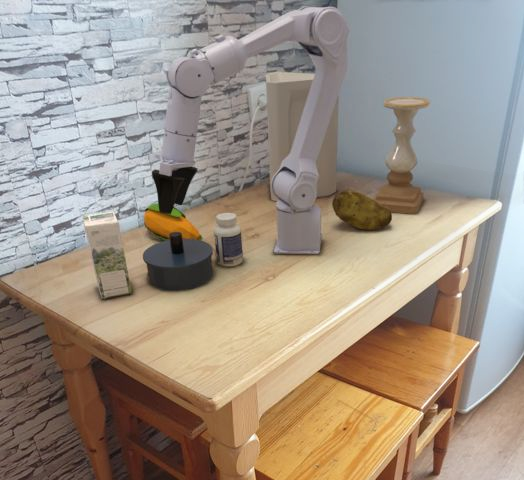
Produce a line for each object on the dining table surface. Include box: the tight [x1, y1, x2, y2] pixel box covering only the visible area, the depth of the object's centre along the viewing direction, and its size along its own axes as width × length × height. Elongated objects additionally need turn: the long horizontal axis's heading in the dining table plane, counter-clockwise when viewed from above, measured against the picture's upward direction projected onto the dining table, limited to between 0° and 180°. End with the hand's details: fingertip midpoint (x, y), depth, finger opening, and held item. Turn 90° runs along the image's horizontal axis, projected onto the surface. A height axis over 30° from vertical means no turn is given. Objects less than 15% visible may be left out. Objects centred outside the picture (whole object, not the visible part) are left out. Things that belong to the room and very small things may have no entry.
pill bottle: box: [213, 212, 244, 268], centre depth 113 cm, size 5×5×10 cm
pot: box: [146, 256, 214, 291], centre depth 110 cm, size 12×12×5 cm
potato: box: [331, 189, 393, 231], centre depth 126 cm, size 8×13×8 cm, turn 58°
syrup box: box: [82, 210, 133, 300], centre depth 103 cm, size 6×6×14 cm
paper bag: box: [265, 71, 340, 202], centre depth 143 cm, size 19×15×28 cm
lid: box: [142, 232, 214, 269], centre depth 107 cm, size 13×13×5 cm
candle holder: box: [372, 96, 431, 215], centre depth 133 cm, size 11×11×24 cm
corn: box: [143, 203, 203, 241], centre depth 124 cm, size 7×8×20 cm
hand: (171, 208), depth 106 cm, fingers open, 7 cm apart
